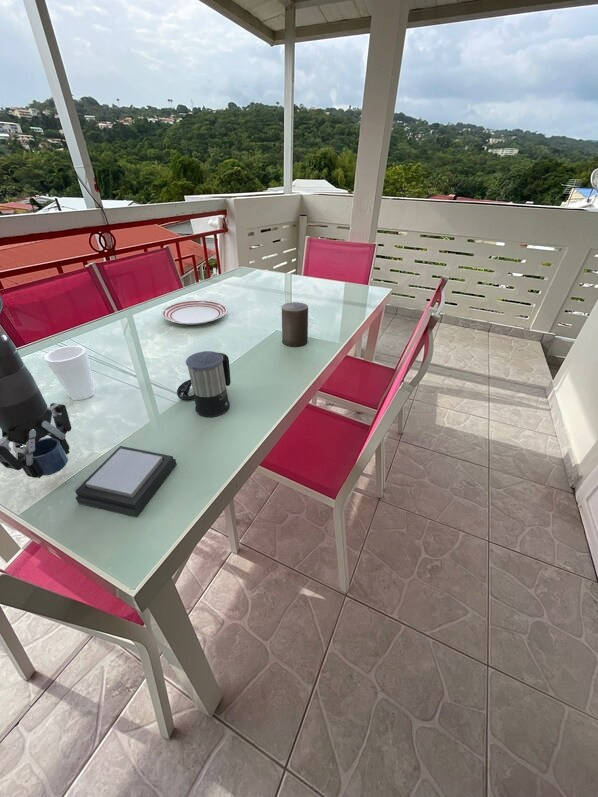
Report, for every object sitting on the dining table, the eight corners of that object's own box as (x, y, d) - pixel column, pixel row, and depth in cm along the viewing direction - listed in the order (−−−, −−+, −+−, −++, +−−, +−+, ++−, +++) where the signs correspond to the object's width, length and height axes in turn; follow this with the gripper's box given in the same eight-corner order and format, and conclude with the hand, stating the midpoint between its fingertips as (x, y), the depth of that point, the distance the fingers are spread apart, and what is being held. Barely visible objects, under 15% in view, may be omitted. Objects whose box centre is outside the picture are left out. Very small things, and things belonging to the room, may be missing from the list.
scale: (137, 517, 61) (132, 507, 60) (78, 503, 64) (72, 493, 62) (177, 464, 72) (174, 454, 71) (125, 453, 75) (121, 444, 73)
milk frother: (226, 418, 86) (219, 368, 78) (166, 417, 86) (152, 367, 78) (235, 388, 98) (230, 342, 89) (182, 387, 98) (172, 341, 89)
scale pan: (133, 498, 62) (131, 493, 61) (87, 488, 64) (85, 483, 63) (163, 461, 70) (161, 456, 69) (122, 452, 72) (120, 448, 71)
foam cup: (56, 398, 92) (35, 357, 85) (85, 382, 99) (68, 343, 92) (80, 406, 89) (61, 364, 82) (108, 389, 97) (93, 349, 89)
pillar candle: (308, 347, 121) (309, 307, 113) (282, 347, 121) (281, 307, 112) (306, 336, 129) (307, 298, 121) (281, 336, 129) (280, 298, 120)
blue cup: (52, 479, 63) (41, 460, 60) (28, 473, 64) (15, 454, 61) (75, 458, 67) (66, 440, 64) (52, 453, 68) (42, 435, 66)
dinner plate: (238, 310, 152) (237, 303, 150) (207, 333, 130) (206, 325, 128) (186, 303, 159) (185, 297, 157) (149, 324, 137) (147, 316, 135)
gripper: (30, 370, 62) (65, 438, 72) (-53, 414, 51) (1, 488, 60) (64, 375, 61) (94, 444, 70) (-15, 422, 49) (34, 496, 59)
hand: (51, 464), depth 65 cm, fingers closed on blue cup, 5 cm apart
